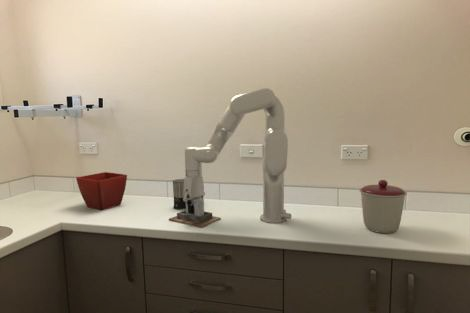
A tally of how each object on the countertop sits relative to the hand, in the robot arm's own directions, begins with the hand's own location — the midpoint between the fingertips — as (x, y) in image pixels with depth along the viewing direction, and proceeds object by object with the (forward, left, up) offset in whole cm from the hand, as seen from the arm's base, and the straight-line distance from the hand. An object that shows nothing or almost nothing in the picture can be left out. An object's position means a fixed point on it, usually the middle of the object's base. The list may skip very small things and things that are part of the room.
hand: (194, 211), depth 158 cm
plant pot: (+59, +7, -4) cm, 60 cm away
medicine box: (0, 0, -2) cm, 2 cm away
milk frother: (+19, -17, -4) cm, 26 cm away
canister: (-76, -31, -4) cm, 82 cm away
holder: (0, 0, -4) cm, 4 cm away
